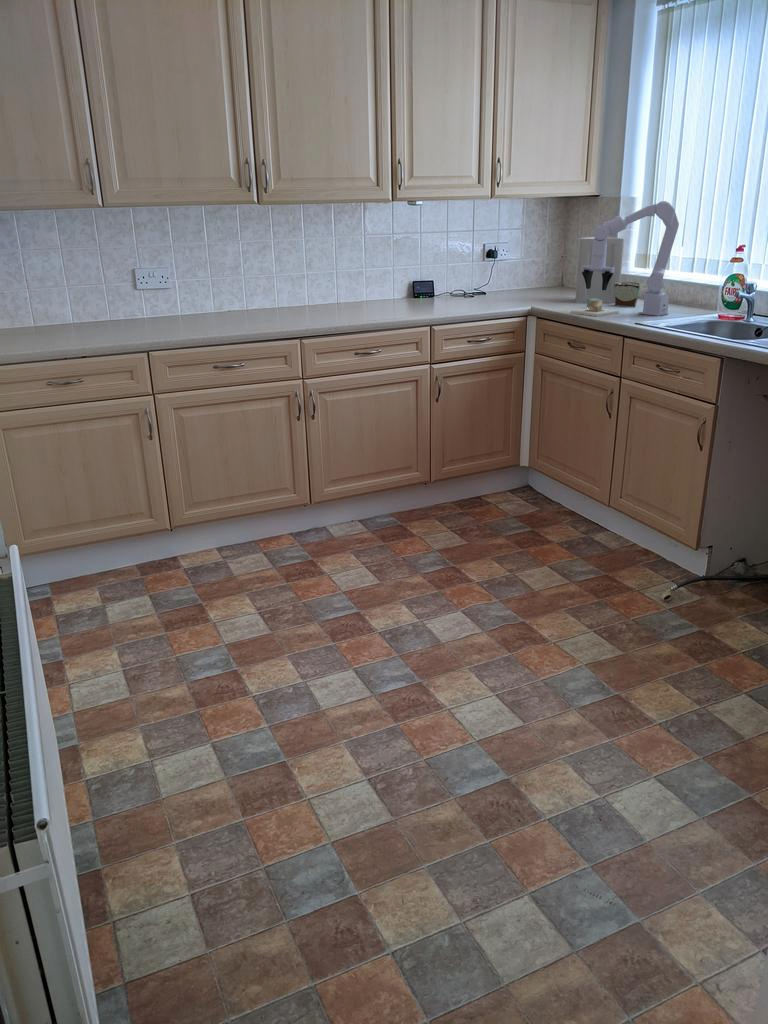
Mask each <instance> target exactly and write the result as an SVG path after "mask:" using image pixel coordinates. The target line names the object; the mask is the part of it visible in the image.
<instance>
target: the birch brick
mask: <svg viewBox="0 0 768 1024" xmlns="http://www.w3.org/2000/svg"><path fill="white" fill-rule="evenodd" d="M602 309H603V303H602V300H590V301H589V310H590V311H600V310H602Z"/></svg>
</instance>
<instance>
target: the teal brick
mask: <svg viewBox="0 0 768 1024" xmlns="http://www.w3.org/2000/svg"><path fill="white" fill-rule="evenodd" d="M590 300H601V299H595V298H591V299H587V303H586V308H587V307H588V308H589V301H590Z"/></svg>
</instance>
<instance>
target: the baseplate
mask: <svg viewBox="0 0 768 1024" xmlns="http://www.w3.org/2000/svg"><path fill="white" fill-rule="evenodd" d="M619 312H620V311H619V310H614V309H613V310H612V309H605V308H602V310H600V311H590V310H589V308H587V307H585V308H580V309H573V310H570V313H571V314H575V315H582V314H583V315H582V316H589V315H591V316H590V317H596V316H599V317H603V316H602V315H605V316H609V315H608V314H612V315H616V314H615V313H618V314H619Z"/></svg>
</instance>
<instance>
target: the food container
mask: <svg viewBox="0 0 768 1024" xmlns="http://www.w3.org/2000/svg"><path fill="white" fill-rule="evenodd" d="M614 287H615V303H614V306H615V305H619V306H618V307H626V306H633V307H632V308H636V307H635V306H637V302H638V298H639V292H640V290H641V288H642V287H641V283H640V282H636V281H620V282H615V284H614Z"/></svg>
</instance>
